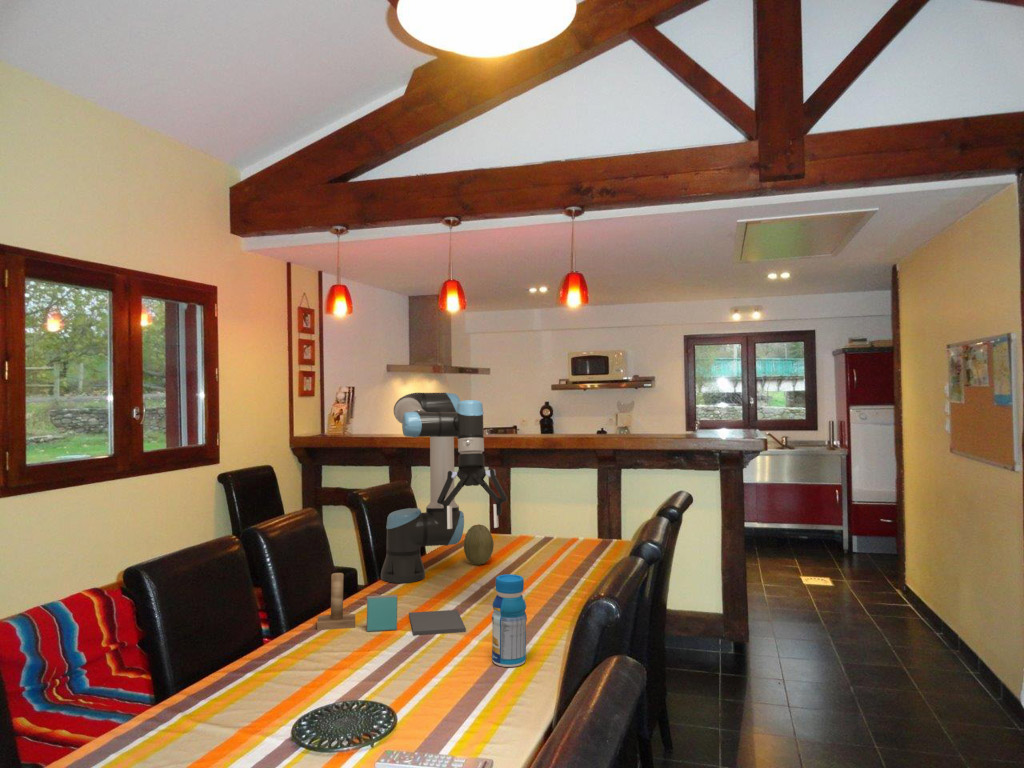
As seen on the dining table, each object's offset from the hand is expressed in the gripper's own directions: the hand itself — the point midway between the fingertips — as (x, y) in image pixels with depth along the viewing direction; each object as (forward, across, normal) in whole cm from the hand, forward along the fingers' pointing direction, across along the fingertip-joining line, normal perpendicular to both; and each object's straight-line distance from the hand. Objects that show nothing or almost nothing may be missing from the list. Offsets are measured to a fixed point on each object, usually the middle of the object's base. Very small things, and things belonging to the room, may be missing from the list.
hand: (473, 528), depth 194 cm
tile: (+26, -24, -10) cm, 36 cm away
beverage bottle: (+31, +14, -24) cm, 41 cm away
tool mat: (+26, -11, -2) cm, 28 cm away
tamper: (+25, -37, -9) cm, 45 cm away
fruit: (+16, -14, +65) cm, 68 cm away
